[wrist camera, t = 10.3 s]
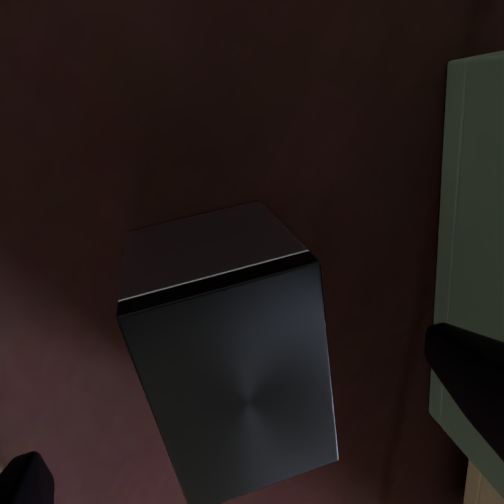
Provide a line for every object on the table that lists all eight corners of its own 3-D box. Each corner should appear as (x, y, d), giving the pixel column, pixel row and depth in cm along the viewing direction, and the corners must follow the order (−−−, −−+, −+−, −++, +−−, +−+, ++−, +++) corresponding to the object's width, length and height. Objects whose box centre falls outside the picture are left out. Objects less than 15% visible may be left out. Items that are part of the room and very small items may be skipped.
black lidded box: (260, 199, 12) (320, 261, 8) (284, 354, 14) (339, 460, 10) (125, 231, 11) (115, 317, 7) (177, 387, 14) (190, 515, 10)
